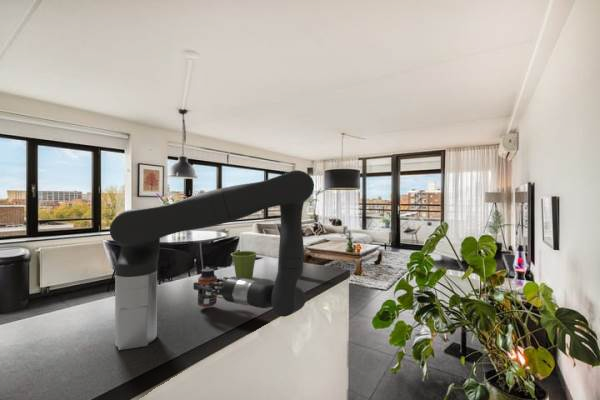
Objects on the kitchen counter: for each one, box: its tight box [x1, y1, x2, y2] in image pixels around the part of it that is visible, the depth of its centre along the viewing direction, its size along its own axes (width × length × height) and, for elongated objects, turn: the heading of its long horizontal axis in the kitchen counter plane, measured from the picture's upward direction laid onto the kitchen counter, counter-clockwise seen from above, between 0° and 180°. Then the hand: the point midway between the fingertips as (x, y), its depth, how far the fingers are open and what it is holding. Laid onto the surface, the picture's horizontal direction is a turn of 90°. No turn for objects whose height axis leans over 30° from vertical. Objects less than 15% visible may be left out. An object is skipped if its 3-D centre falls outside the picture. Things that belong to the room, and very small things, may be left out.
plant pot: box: [230, 250, 258, 280], centre depth 130 cm, size 12×12×11 cm
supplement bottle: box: [197, 268, 218, 308], centre depth 94 cm, size 6×6×11 cm
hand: (202, 283), depth 95 cm, fingers closed on supplement bottle, 6 cm apart
